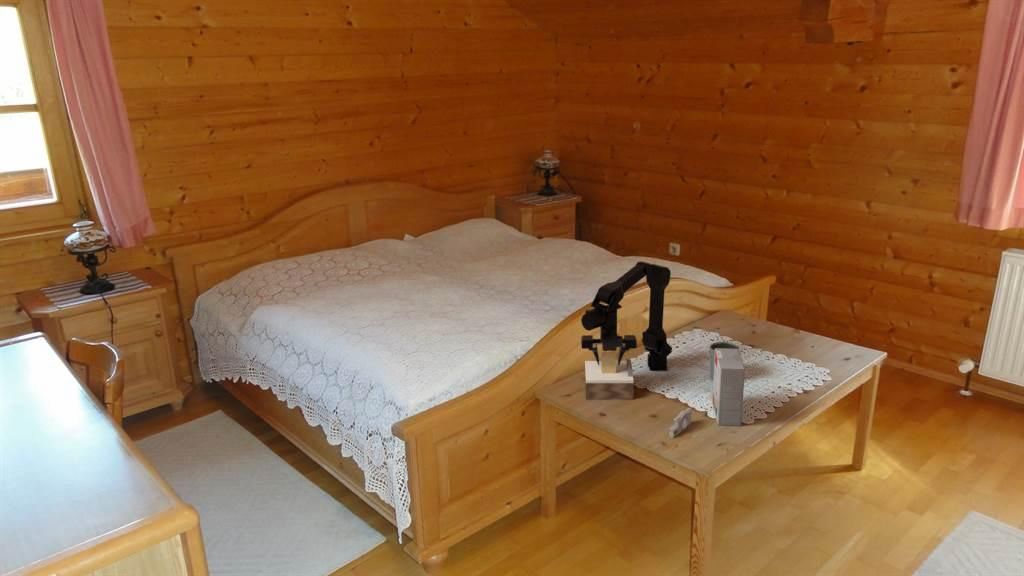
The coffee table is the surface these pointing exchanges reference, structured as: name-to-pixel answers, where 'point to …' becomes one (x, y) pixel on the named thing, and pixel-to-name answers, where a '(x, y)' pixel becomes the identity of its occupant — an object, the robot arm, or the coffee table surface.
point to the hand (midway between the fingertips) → (608, 364)
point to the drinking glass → (712, 353)
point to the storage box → (609, 391)
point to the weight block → (608, 362)
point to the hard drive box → (728, 386)
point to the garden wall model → (681, 422)
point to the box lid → (596, 376)
